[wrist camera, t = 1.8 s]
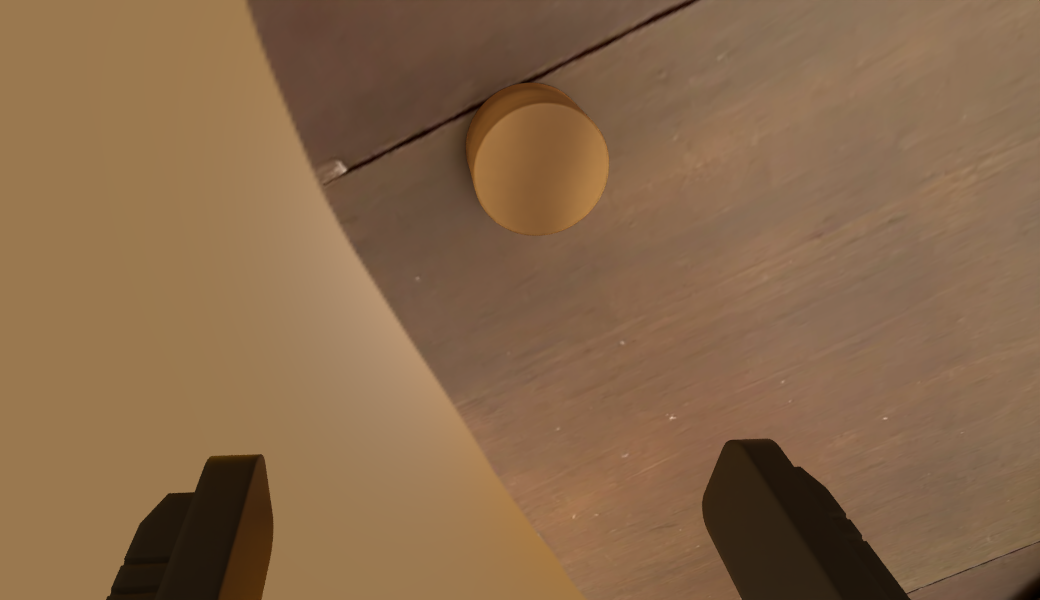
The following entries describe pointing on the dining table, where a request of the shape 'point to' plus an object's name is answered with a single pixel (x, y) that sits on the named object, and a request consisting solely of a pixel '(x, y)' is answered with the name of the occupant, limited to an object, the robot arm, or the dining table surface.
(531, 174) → the tan short cylinder
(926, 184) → the dining table surface
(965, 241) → the dining table surface
